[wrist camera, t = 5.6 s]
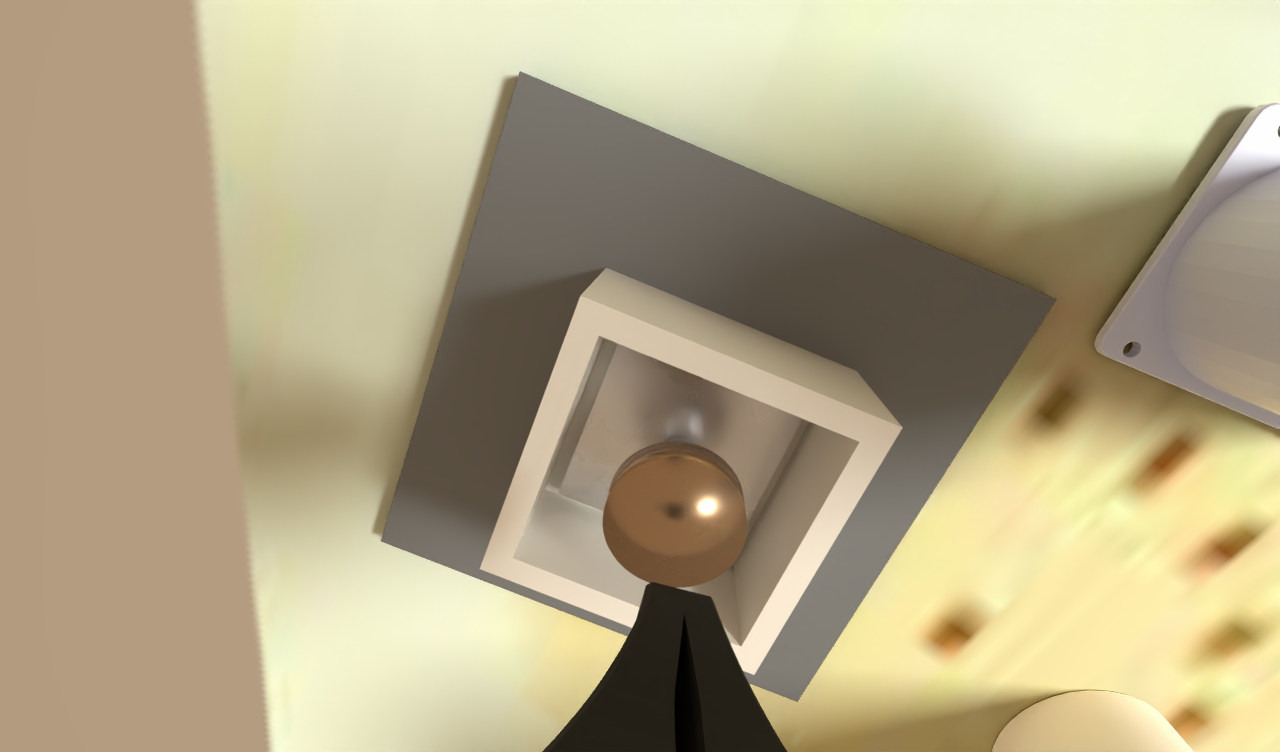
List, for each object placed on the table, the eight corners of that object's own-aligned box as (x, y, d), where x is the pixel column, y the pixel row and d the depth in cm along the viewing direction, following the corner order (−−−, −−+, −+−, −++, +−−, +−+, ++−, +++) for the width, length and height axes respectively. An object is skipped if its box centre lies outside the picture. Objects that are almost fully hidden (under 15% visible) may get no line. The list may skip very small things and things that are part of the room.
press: (856, 370, 20) (902, 427, 16) (742, 577, 23) (754, 675, 19) (606, 267, 20) (580, 295, 16) (522, 490, 23) (479, 569, 18)
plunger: (807, 398, 20) (843, 471, 15) (726, 551, 22) (735, 658, 17) (626, 324, 20) (603, 374, 15) (560, 486, 22) (522, 576, 17)
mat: (1046, 295, 20) (1056, 299, 19) (795, 690, 26) (797, 702, 25) (524, 74, 19) (519, 71, 18) (387, 532, 25) (380, 541, 24)
